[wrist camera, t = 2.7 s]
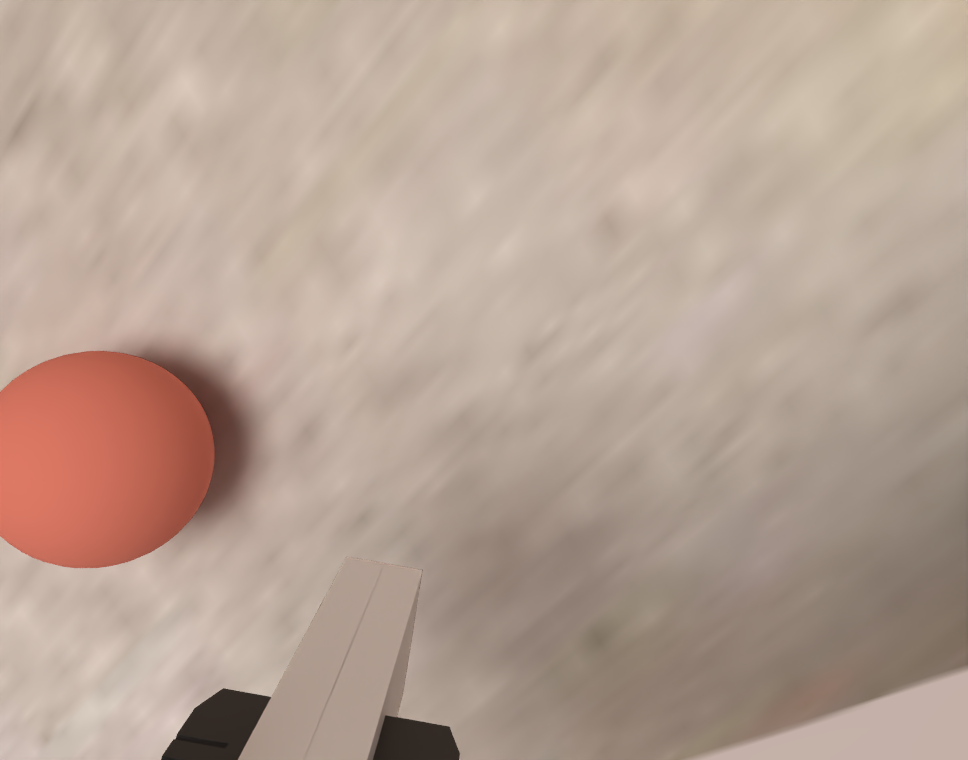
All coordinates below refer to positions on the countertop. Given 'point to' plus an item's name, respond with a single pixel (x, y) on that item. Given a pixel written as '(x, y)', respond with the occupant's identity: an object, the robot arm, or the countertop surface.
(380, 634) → the robot arm
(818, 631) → the countertop surface
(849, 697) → the countertop surface
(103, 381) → the ball
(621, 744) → the countertop surface
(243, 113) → the countertop surface
